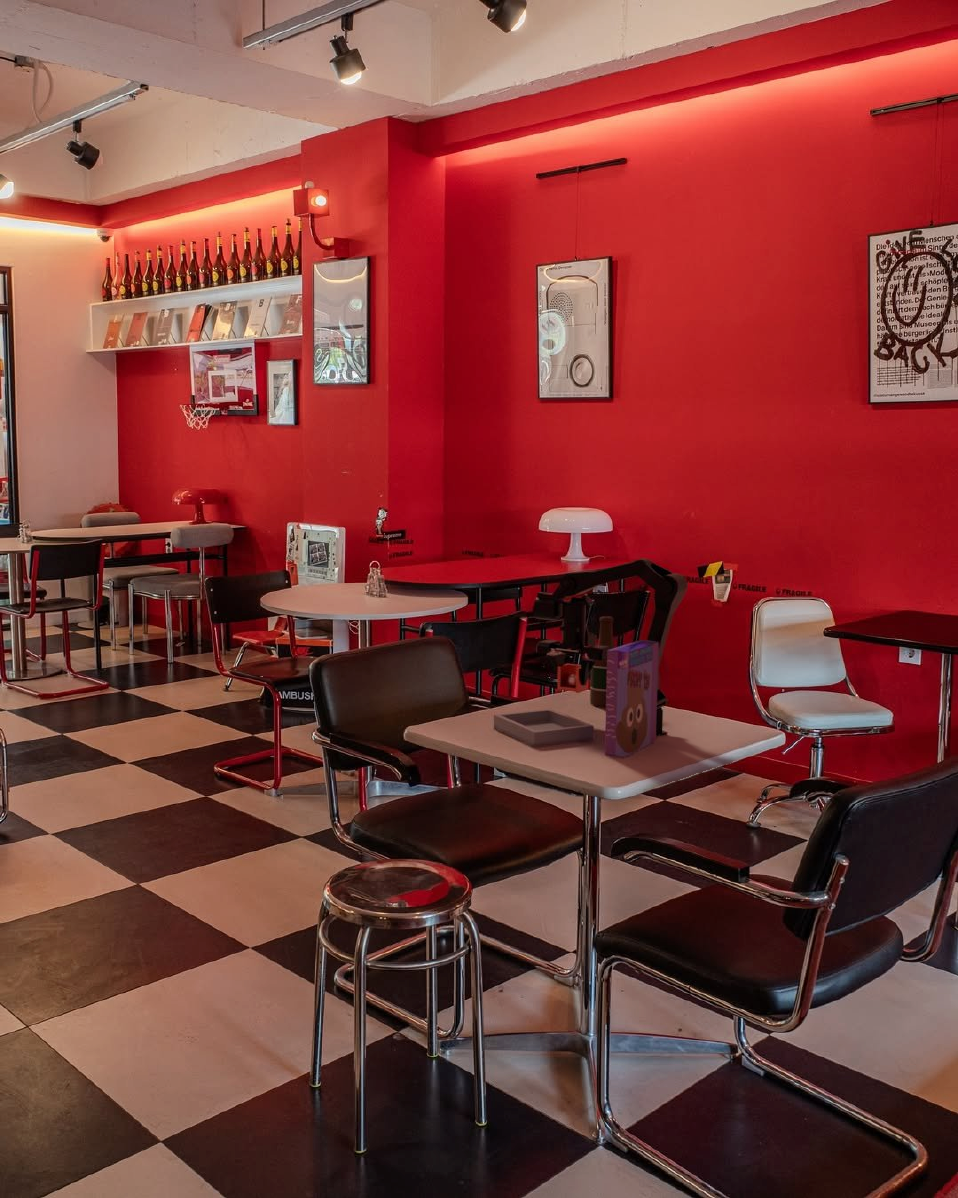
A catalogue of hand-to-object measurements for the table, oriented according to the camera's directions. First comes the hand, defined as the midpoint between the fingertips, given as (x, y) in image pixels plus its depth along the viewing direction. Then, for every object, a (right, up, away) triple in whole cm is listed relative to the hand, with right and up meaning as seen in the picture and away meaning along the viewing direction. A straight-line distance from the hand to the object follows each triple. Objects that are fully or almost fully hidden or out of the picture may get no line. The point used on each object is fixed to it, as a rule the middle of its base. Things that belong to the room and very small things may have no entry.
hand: (572, 683), depth 281 cm
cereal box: (+11, -13, -24) cm, 29 cm away
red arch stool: (0, -2, 0) cm, 2 cm away
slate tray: (-8, -11, -11) cm, 18 cm away
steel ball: (0, +1, 0) cm, 1 cm away
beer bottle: (+10, -8, +23) cm, 26 cm away
